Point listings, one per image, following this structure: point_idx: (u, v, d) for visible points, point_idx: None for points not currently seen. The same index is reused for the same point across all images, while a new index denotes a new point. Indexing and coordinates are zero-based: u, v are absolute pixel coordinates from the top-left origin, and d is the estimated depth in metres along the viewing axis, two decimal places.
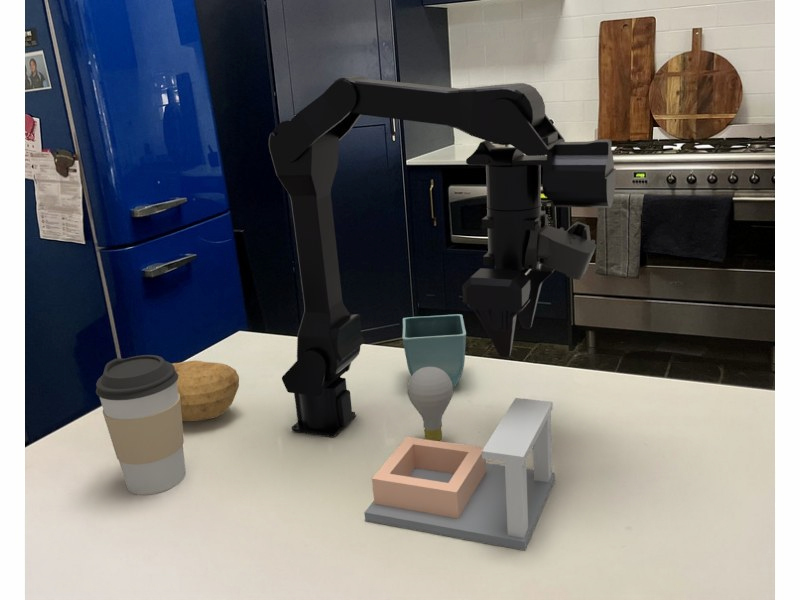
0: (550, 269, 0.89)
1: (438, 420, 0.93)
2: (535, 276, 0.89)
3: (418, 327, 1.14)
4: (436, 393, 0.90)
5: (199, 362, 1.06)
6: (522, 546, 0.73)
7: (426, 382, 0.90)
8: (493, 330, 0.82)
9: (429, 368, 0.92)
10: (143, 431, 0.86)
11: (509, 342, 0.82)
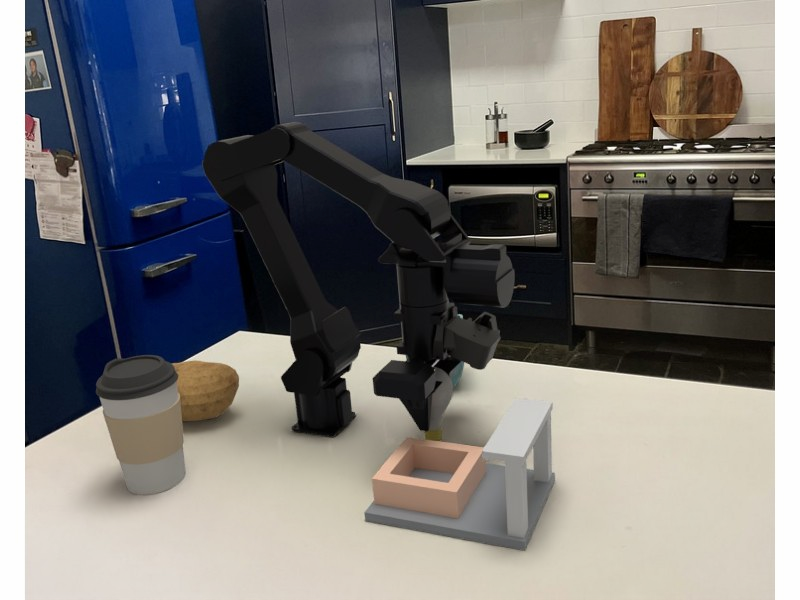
0: None
1: (438, 420, 0.93)
2: (445, 364, 0.94)
3: None
4: (436, 393, 0.90)
5: (199, 362, 1.06)
6: (522, 546, 0.73)
7: None
8: (412, 408, 0.90)
9: None
10: (143, 431, 0.86)
11: (426, 418, 0.90)
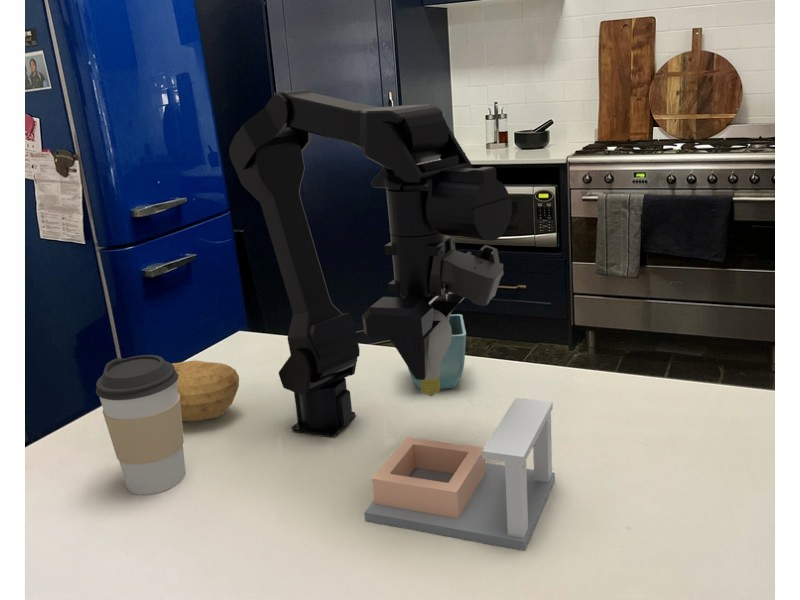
0: (458, 299, 0.85)
1: (436, 368, 0.84)
2: (442, 307, 0.85)
3: None
4: (433, 335, 0.81)
5: (199, 362, 1.06)
6: (522, 546, 0.73)
7: None
8: (406, 353, 0.81)
9: None
10: (143, 431, 0.86)
11: (422, 364, 0.81)
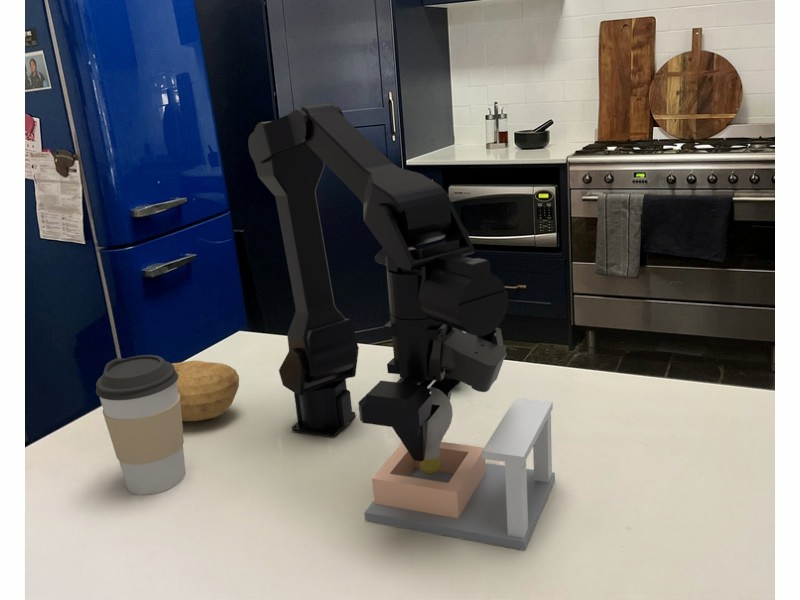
0: None
1: (435, 448, 0.81)
2: (443, 384, 0.83)
3: None
4: (433, 418, 0.78)
5: (199, 362, 1.06)
6: (522, 546, 0.73)
7: None
8: (404, 435, 0.78)
9: None
10: (143, 431, 0.86)
11: (421, 447, 0.78)
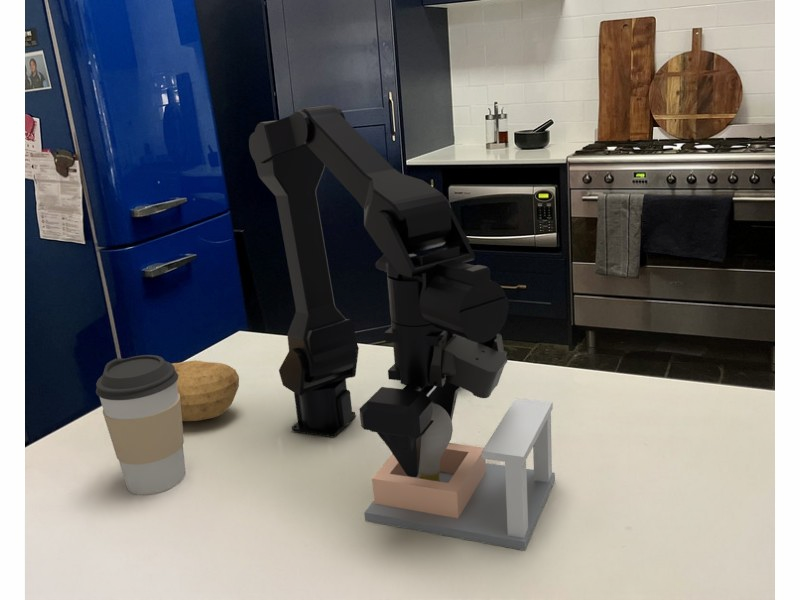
0: None
1: (435, 463, 0.81)
2: (450, 382, 0.84)
3: None
4: (433, 434, 0.78)
5: (199, 362, 1.06)
6: (522, 546, 0.73)
7: None
8: (397, 450, 0.77)
9: None
10: (143, 431, 0.86)
11: (414, 463, 0.77)
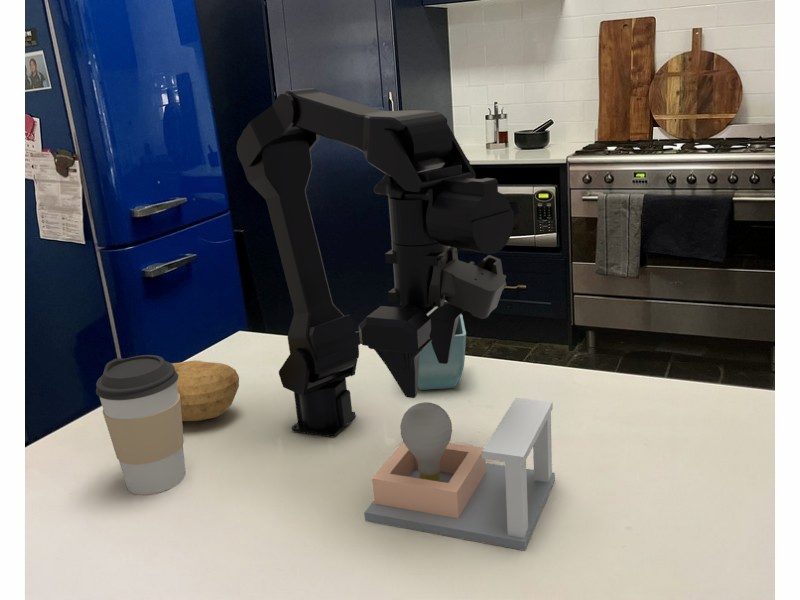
0: None
1: (435, 463, 0.81)
2: (450, 310, 0.85)
3: None
4: (432, 434, 0.78)
5: (199, 362, 1.06)
6: (522, 546, 0.73)
7: (422, 422, 0.79)
8: (396, 370, 0.78)
9: (425, 405, 0.80)
10: (143, 431, 0.86)
11: (412, 382, 0.78)
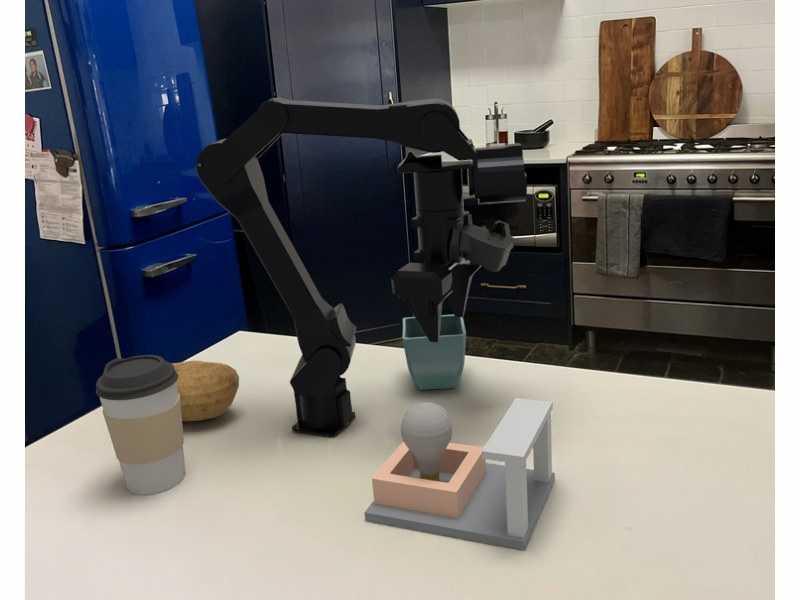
0: None
1: (435, 463, 0.81)
2: (465, 270, 0.99)
3: (418, 327, 1.14)
4: (433, 434, 0.78)
5: (199, 362, 1.06)
6: (522, 546, 0.73)
7: (422, 421, 0.79)
8: (422, 318, 0.92)
9: (425, 404, 0.80)
10: (143, 431, 0.86)
11: (436, 328, 0.92)
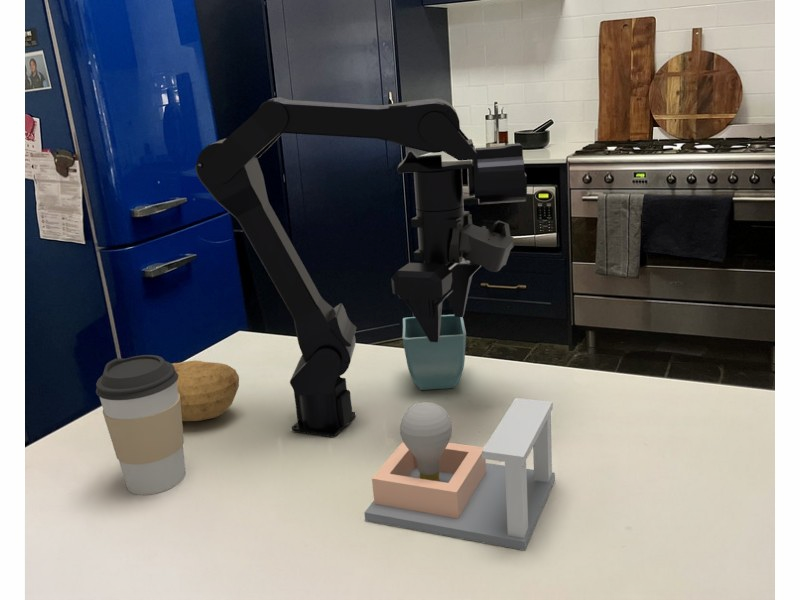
0: None
1: (435, 463, 0.81)
2: (465, 270, 0.99)
3: (418, 327, 1.14)
4: (432, 434, 0.78)
5: (199, 362, 1.06)
6: (522, 546, 0.73)
7: (421, 421, 0.79)
8: (422, 318, 0.92)
9: (425, 404, 0.80)
10: (143, 431, 0.86)
11: (436, 328, 0.92)
